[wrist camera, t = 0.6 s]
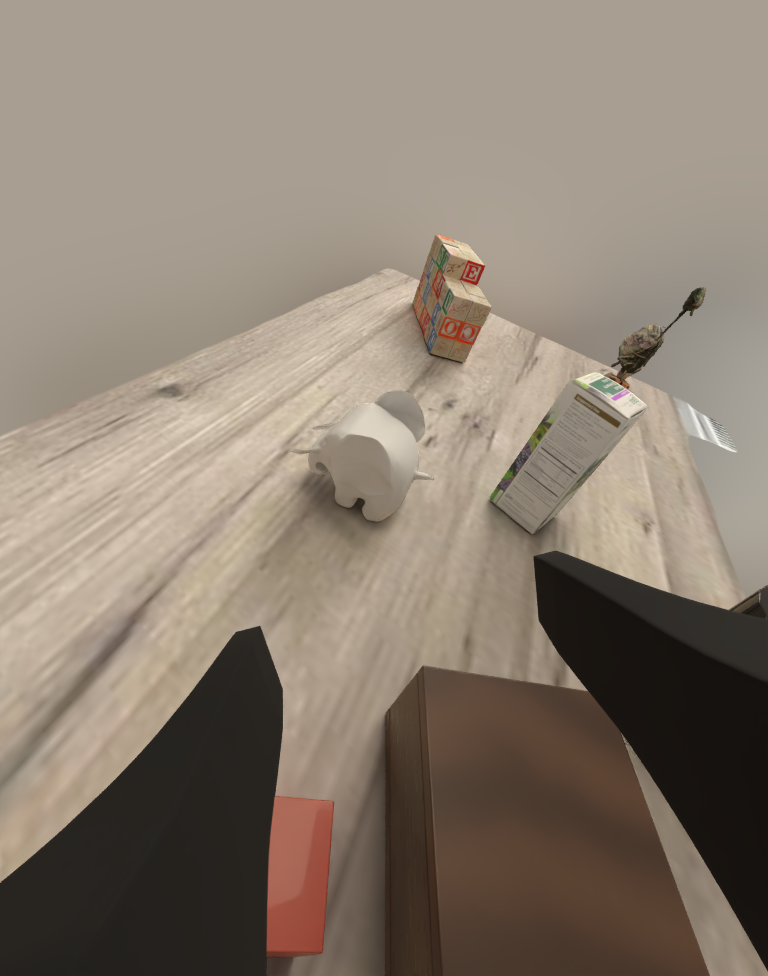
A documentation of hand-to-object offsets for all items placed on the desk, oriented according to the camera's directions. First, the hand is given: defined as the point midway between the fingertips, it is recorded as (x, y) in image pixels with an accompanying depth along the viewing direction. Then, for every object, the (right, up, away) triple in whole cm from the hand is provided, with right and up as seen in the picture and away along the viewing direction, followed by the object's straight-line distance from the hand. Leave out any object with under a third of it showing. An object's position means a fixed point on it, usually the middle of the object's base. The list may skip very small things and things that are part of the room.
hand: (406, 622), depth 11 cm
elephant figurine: (-3, +3, +29) cm, 29 cm away
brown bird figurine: (+42, +22, +71) cm, 85 cm away
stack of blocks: (+8, +31, +65) cm, 72 cm away
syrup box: (+14, +1, +35) cm, 37 cm away
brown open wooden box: (+5, -15, +12) cm, 20 cm away
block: (-6, -14, +8) cm, 17 cm away
